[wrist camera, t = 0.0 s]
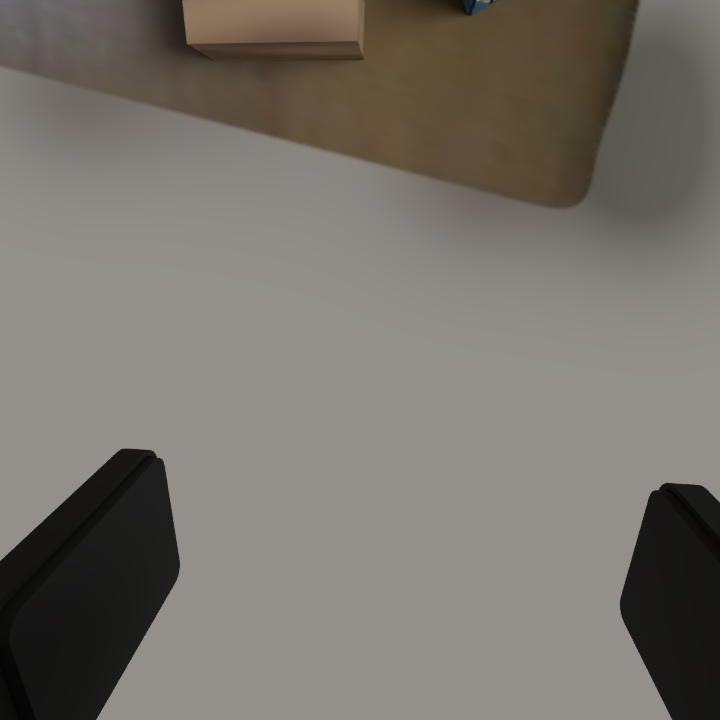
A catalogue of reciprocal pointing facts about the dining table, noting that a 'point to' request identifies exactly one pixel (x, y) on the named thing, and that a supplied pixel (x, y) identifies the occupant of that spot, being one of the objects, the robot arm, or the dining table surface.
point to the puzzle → (476, 5)
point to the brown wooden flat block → (276, 29)
